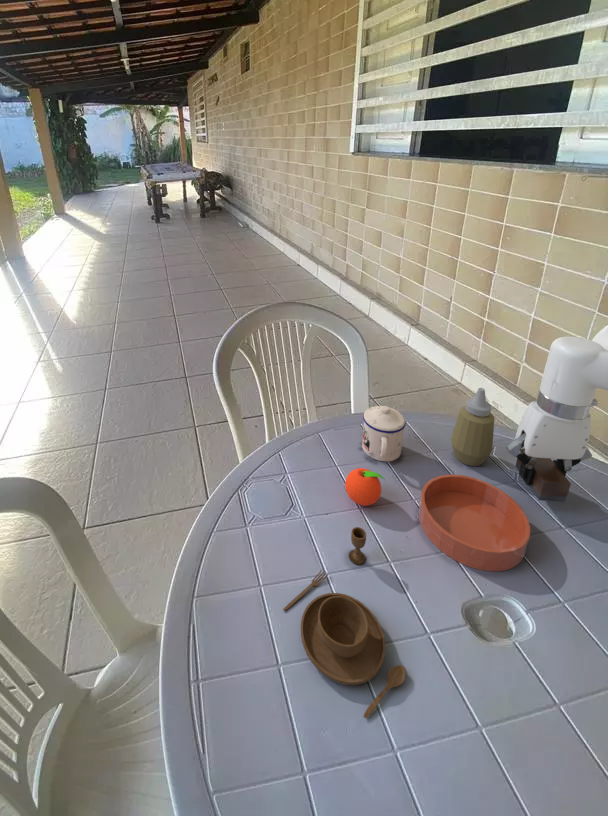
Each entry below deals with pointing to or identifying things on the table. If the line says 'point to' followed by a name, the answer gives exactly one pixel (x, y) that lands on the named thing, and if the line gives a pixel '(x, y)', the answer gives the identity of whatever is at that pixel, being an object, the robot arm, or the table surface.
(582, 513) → the table surface
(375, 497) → the clementine
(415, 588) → the table surface
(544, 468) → the eraser
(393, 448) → the teacup with lid
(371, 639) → the place setting
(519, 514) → the bowl
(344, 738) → the table surface
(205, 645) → the table surface
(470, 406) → the squeeze bottle
